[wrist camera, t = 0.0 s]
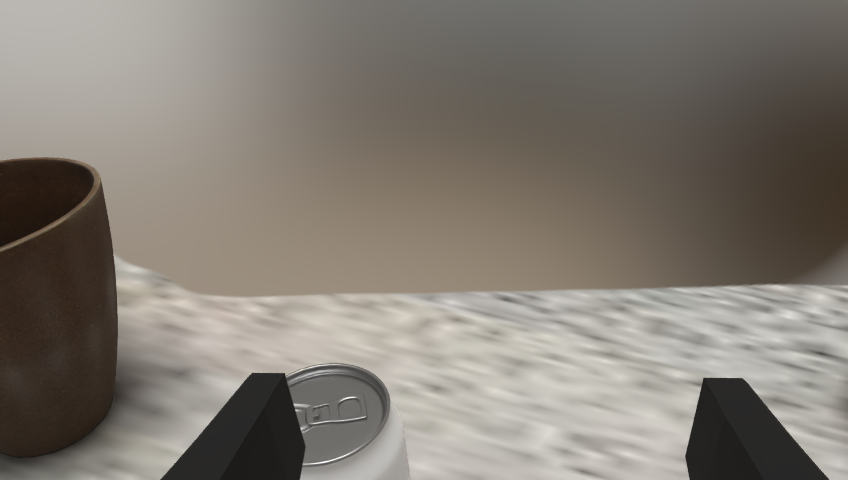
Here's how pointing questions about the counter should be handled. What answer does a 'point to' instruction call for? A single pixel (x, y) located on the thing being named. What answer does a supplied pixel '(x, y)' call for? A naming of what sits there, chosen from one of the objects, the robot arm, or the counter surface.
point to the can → (347, 425)
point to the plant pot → (54, 305)
